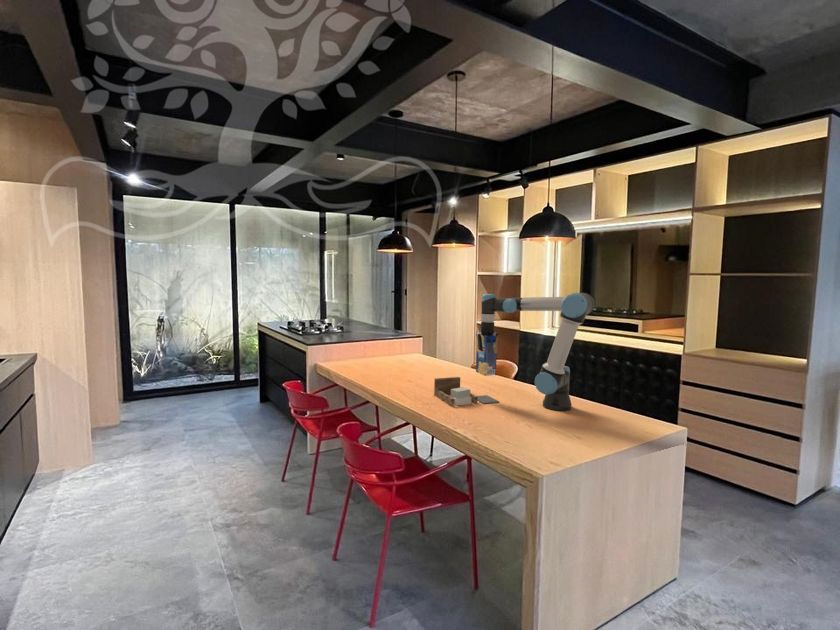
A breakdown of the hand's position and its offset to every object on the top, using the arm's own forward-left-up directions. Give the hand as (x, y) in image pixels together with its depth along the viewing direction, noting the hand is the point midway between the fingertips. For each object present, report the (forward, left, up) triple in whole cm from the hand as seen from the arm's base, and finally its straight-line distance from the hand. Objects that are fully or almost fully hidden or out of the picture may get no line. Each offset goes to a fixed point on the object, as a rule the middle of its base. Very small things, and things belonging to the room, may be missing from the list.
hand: (486, 362), depth 258 cm
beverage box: (0, 0, -6) cm, 6 cm away
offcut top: (-1, +16, -18) cm, 24 cm away
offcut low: (-1, +16, -22) cm, 27 cm away
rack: (+6, +16, -21) cm, 27 cm away
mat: (0, 0, -21) cm, 21 cm away
